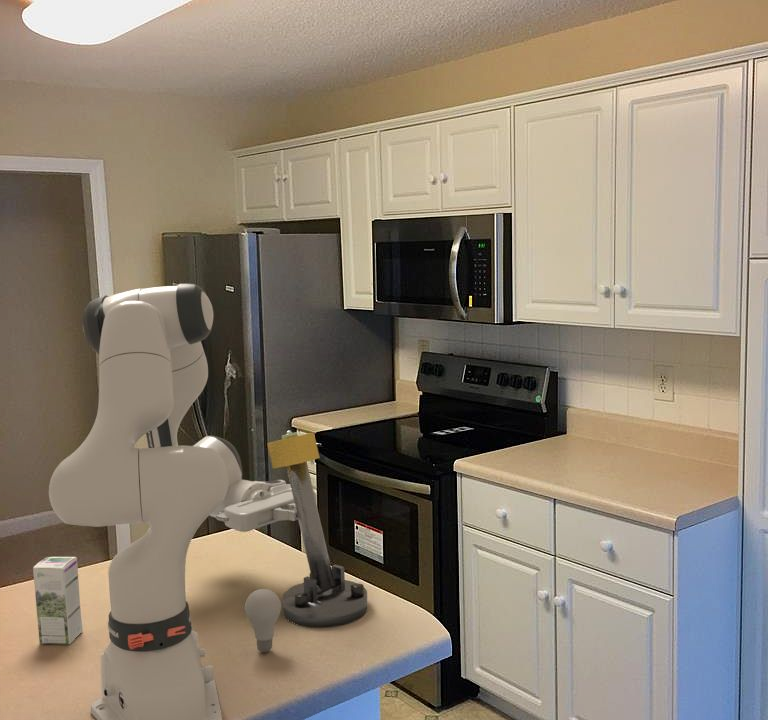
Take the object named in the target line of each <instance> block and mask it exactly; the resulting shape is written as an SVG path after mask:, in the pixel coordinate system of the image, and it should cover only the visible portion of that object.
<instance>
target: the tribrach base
mask: <svg viewBox="0 0 768 720" xmlns="http://www.w3.org/2000/svg"><path fill="white" fill-rule="evenodd" d="M331 569H332V574H333V578H336V579H337V580H338V582H339V584H338V586H337V587H334V588H332V589H330V590H328V591H326V592H323V593H321V594H319V595H317V579H315V578H312V577H311V573H310V572H309V576H305V577H303V582H300V583H298V584H295V585H293V586H291V587H290V588H288V589H287V590H286V591H285V592H284V593H283V595H282V611H283V613H282V614H283V617H284V616H285V617H284V618H285V620H287V621H288V620H289V621H288V622H290V623H291V622H293V623H292V624H294V623H295V624H294V625H296V624H298V625H297V626H300V625H301V626H300V627H304V626H305V627H306V628H313V629H314V628H315V629H318V628H319V629H325V628H327V629H328V628H335V627H341V626H345V625H348V624H351V623H355V622H357V621H358V620H360V619H361V618H363V617H365V615H366V614H367V612H368V591H367V589H366V588H365V586H364V584H363V583H358V582H355V581H351V580H346V579H345V578H346V577H345V566H342V565H339V564H334V565H331Z"/></svg>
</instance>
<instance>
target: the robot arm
mask: <svg viewBox="0 0 768 720" xmlns="http://www.w3.org/2000/svg"><path fill="white" fill-rule="evenodd" d="M213 322H214V309H213V305H212V302H211V301H210V298H209V297H208V295H207V292H206V291H205V290H204V289H203V288H202V287H200V286H199V285H197V284H195V283H179V284H178V285H165V286H163V285H162V286H155V287H146V288H143V287H141V288H136V289H130V290H126V291H122V292H119V293H114V294H112V295H107V294H106V295H102V296H100V297H97V298H95V299H93V300H91V301H89V302H88V303H87V305H86V306H85V308H84V310H83V314H82V331H83V333H84V337H85V340H86V342H87V344H88V346H89V347H90V349H91V350H92V351H93V352H95V353H96V354H98V361H99V362H98V371H99V372H98V375H99V376H98V377H99V378H98V379H99V381H98V382H99V384H98V385H99V387H98V389H99V390H98V404H97V407H98V408H97V414H96V416H95V417H96V418H95V420H94V423H93V425H92V428H91V430H90V432H89V433H88V435H87V436H86V438H85V439H84V440H83V442H82V443H81V444H80V446H78V447H77V448H76V449H75V451H73V452H72V453H71V454H70V455H68V456H67V457H66V458H65V459H63V460H62V461H61V462H60V463H59V464H58V465H57V466H56V467H55V469H54V471H53V473H52V475H51V477H50V481H49V485H48V497H49V502H50V506H51V507H52V508H51V509H52V510H53V511H54V513H55V515H56V516H57V517H58V518H59V519H60V521H62V522H64V523H65V524H66V525H72V526H73V525H74V526H82V527H85V526H86V527H98V528H100V527H106V526H107V527H108V526H116V525H117V526H118V525H125V524H126V525H127V524H130V525H131V524H138V523H143V524H148V525H149V527H148V529H147V531H146V532H145V534H143V536H141V537H140V538H139V539H137V540H135V541H133V542H131V543H129V544H128V545H127V546H125V547H123V548H122V549H121V550H119V551H118V552H117V553H116V554H115V556H114V557H113V558H112V560H111V562H110V564H109V566H108V573H107V574H108V588H109V600H110V602H109V603H110V612H109V613H108V621H107V628H108V633H109V639H110V642H109V644H108V645H107V647H106V648H105V650H104V651H103V652H102V653H101V654H100V680H101V681H100V685H101V687H100V688H101V689H100V690H101V697H99V698H97V699H96V700H95V701H93V702H92V703H91V705H90V714H91V715H92V716H93V717H94V719H96V720H223V715H222V710H221V705H220V699H219V695H218V694H219V693H218V691H217V690H218V689H217V685H216V680H215V673H214V666H213V664H208V665H207V664H206V665H202V662H201V659H202V658H205V657H206V655H207V654H206V648H205V647H202V648H201V647H200V648H199V635H198V632H196V631H194V630H193V627H192V615H191V610H190V608H189V607H190V606H189V603H188V601H187V600H186V599H187V598H186V562H187V561H186V560H187V556H188V555H187V554H188V551H189V547H190V544H191V542H192V539H193V538H194V535H195V533H196V532H197V530H198V529H199V528H200V526H201V525H202V523H203V522H204V521H205V520H206V519H207V518H208V517H209V516H210V517H212V518H215V519H216V520H217V521H220V522H224V525H225V526H226V527H228V528H229V529H232V530H235V531H237V532H240V533H241V532H243V533H246V532H251V531H253V530H256V529H259V528H261V527H265V526H268V525H271V524H273V523H276V522H279V521H291V522H295V521H299V520H298V516H297V512H296V507H295V503H294V499H293V494H292V490H291V486H290V483H287V482H286V480H284V479H275V480H268V481H267V480H266V481H258V480H253V481H252V480H247V479H243V466H242V461H241V457H240V454H239V453H238V450H237V449H236V447H235V446H234V445H233V444H232V443H231V442H229V440H226V439H225V438H222V437H219V436H216V435H205V436H204V437H203V438H202V439H200V440H199V441H198V442H196V443H195V444H193V445H181V444H180V445H179V442H178V430H179V427H180V424H181V423H182V421H183V418H184V417H185V415H186V414H187V413H188V411H189V410H190V408H191V406H192V405H193V403H194V402H195V401H196V400H197V399H198V397H200V396H201V393H202V392H203V390H204V389H205V387H206V385H207V382H208V378H209V367H208V366H209V365H208V360H207V356H206V354H205V351H204V347H203V344H202V341H203V340H206V338H208V336H209V335H210V333H211V332H212V329H213ZM144 435H146V440H147V447H145V448H140V447H139V448H138V447H135V446H136V444H137V442H138V441H139V440H140V438H142V437H143V436H144ZM313 491H314V496H315V500H316V501H317V495H316V494H317V493H316V491H315V490H314V489H313Z"/></svg>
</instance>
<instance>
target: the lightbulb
mask: <svg viewBox="0 0 768 720" xmlns="http://www.w3.org/2000/svg"><path fill="white" fill-rule="evenodd" d="M281 611H282V603H281V600H280V598H279V596H278V595H277V594H276V593H275V592H274V590H273V591H272V590H271V589H268V588H260V589H256V590H254V591H252V592H251V593H250V594H249V595H248V597H247V598H246V600H245V603H244V613H245V616H246V618H247V620H248V622H249V623H250V624H251V626H252V629H253V633H254V638H255V639H256V648H257V650H258V651H259V652H261V653H263V654H265V653H268V652H269V651H271V650H272V649H273V637H274V633H275V632H274V631H275V625H276V623H277V621H278V618H279V617H280V614H281Z"/></svg>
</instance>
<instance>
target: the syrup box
mask: <svg viewBox="0 0 768 720" xmlns="http://www.w3.org/2000/svg"><path fill="white" fill-rule="evenodd" d="M32 572H33V582H34V583H33V584H34V593H35V595H34V596H35V607H36V618H37V628H38V639H39V640H38V641H39V644H40V645H64V646H66V645H68V646H69V645H70V644H72V643H73V642H74V641H75V640H76V639H77V638H78V637H79V636H80V635H81V634H82V633H83V620H82V611H81V610H82V609H81V598H80V595H81V594H80V583H79V582H80V581H79V569H78V558H77V556H46V557H44V558H43V559H41V560H40V561H38V562H37V563H36V564H35V565H34V566H33V567H32ZM80 633H81V634H80ZM79 634H80V635H79ZM78 635H79V636H78ZM77 636H78V637H77ZM76 637H77V638H76ZM75 638H76V639H75Z"/></svg>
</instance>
